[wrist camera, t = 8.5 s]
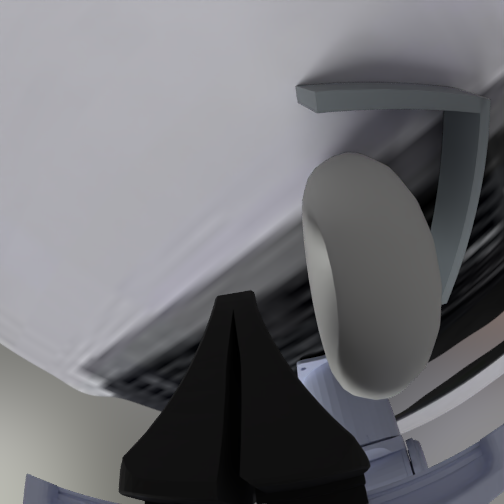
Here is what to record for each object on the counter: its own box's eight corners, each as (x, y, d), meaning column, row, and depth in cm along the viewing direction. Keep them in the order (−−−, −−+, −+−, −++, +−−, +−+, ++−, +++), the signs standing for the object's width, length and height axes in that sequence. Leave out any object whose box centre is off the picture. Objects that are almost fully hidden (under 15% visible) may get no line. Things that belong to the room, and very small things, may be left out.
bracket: (427, 275, 19) (446, 303, 17) (313, 302, 19) (324, 337, 17) (453, 87, 11) (490, 99, 8) (295, 85, 11) (314, 91, 9)
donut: (282, 130, 12) (378, 278, 4) (353, 122, 12) (510, 242, 4) (301, 288, 18) (339, 440, 10) (352, 278, 18) (409, 418, 10)
